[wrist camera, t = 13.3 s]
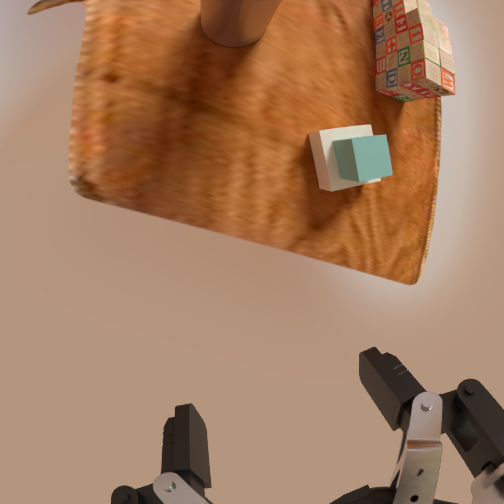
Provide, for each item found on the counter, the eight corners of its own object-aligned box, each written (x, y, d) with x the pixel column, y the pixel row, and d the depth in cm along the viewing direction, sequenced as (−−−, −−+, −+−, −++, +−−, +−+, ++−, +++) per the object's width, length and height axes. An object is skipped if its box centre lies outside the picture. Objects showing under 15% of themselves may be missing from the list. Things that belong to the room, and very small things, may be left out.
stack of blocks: (369, -5, 28) (408, -32, 16) (397, 8, 29) (438, -13, 17) (374, 92, 34) (426, 77, 23) (404, 103, 35) (457, 95, 24)
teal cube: (332, 140, 32) (351, 138, 27) (364, 136, 32) (385, 134, 27) (340, 178, 33) (359, 182, 29) (371, 172, 34) (392, 175, 29)
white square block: (308, 133, 35) (319, 130, 31) (356, 126, 35) (370, 124, 32) (319, 188, 38) (331, 191, 34) (366, 178, 38) (380, 180, 34)
